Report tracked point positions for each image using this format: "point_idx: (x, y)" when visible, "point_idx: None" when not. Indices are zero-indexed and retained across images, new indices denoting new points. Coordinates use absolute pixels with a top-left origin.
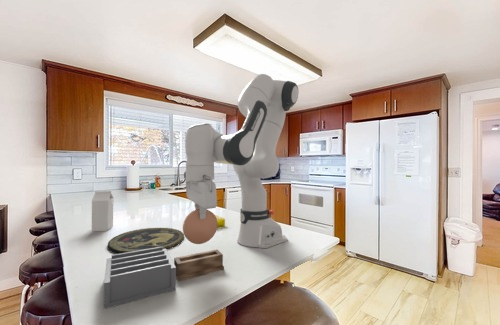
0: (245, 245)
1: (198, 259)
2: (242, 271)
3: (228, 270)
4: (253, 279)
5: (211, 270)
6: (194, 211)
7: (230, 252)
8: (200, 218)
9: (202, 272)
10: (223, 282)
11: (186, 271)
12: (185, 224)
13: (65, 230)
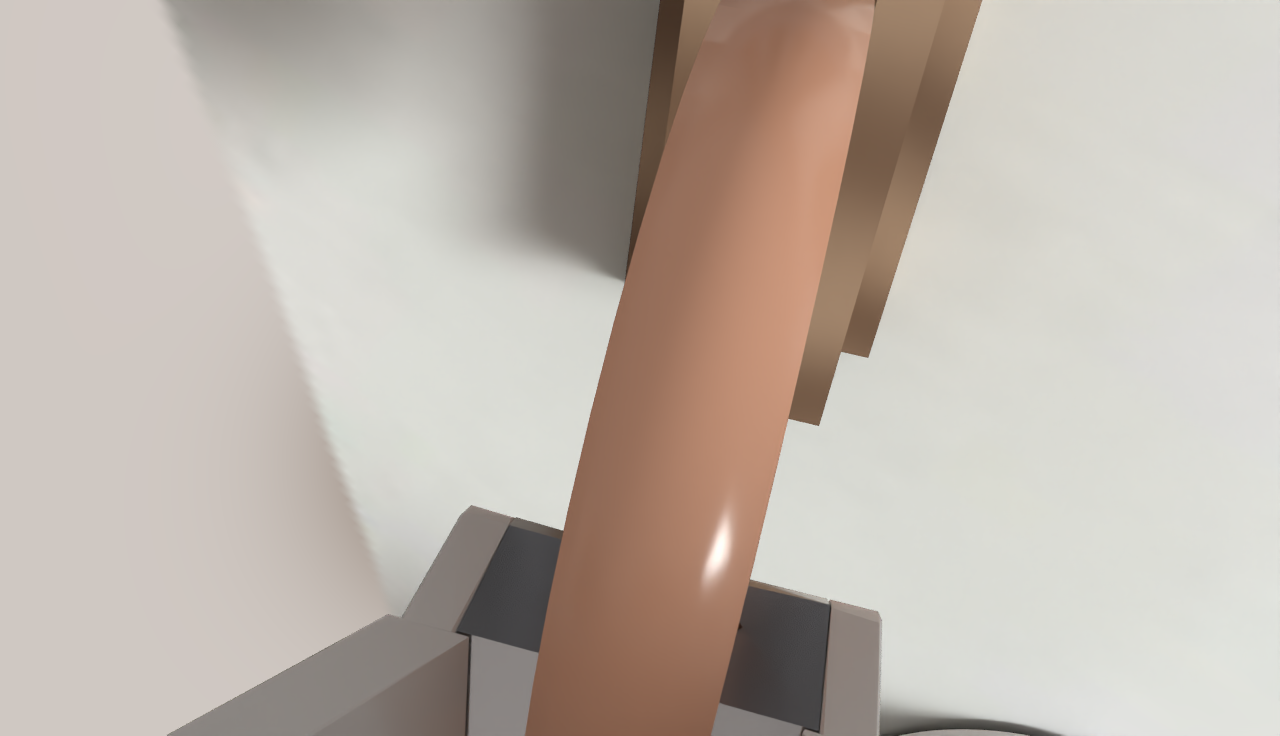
0: (944, 733)
1: (678, 67)
2: (500, 381)
3: (590, 306)
4: (335, 355)
5: (644, 159)
6: (579, 610)
7: (942, 560)
8: (465, 510)
9: (656, 48)
10: (405, 133)
11: None
12: (695, 77)
13: None
